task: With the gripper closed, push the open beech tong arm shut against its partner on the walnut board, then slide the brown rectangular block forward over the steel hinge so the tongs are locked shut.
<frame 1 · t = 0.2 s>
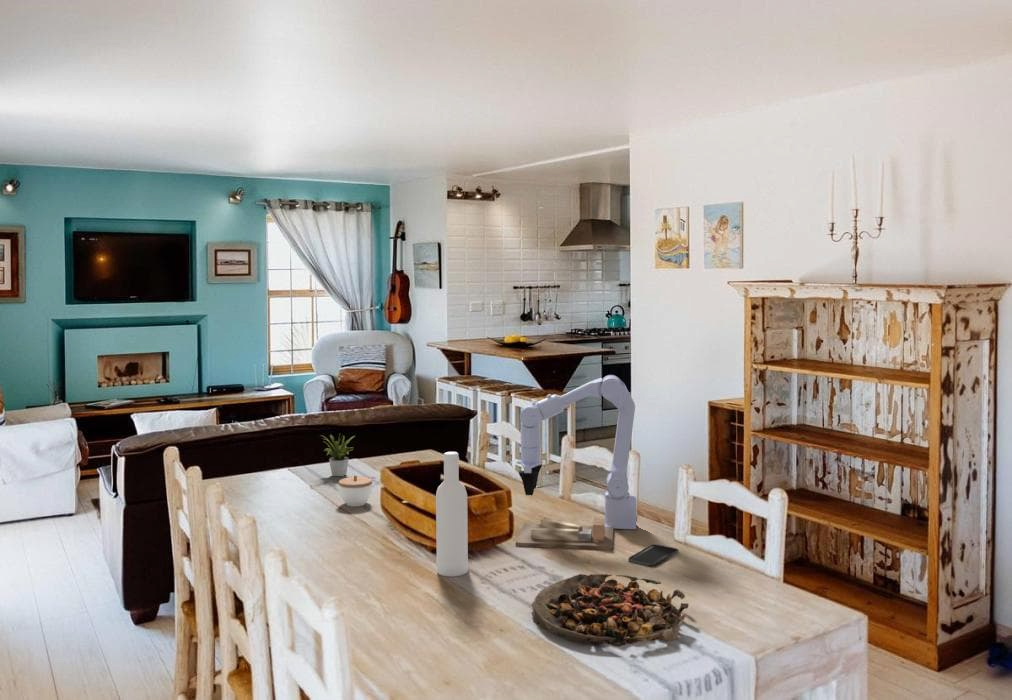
hand: (530, 491, 255), 10 cm above the table, fingers open, 7 cm apart
bottle: (452, 572, 214), on the table
tongs base: (565, 537, 241), on the table
lidded jar: (355, 504, 278), on the table
brown rectangular block: (598, 529, 237), point 4 cm above the table, slide at 0.0 cm
tong arm: (561, 526, 244), point 2 cm above the table, hinge at 30.0°
food dish: (607, 618, 186), on the table
house plant: (335, 476, 317), on the table
phone: (653, 558, 225), on the table
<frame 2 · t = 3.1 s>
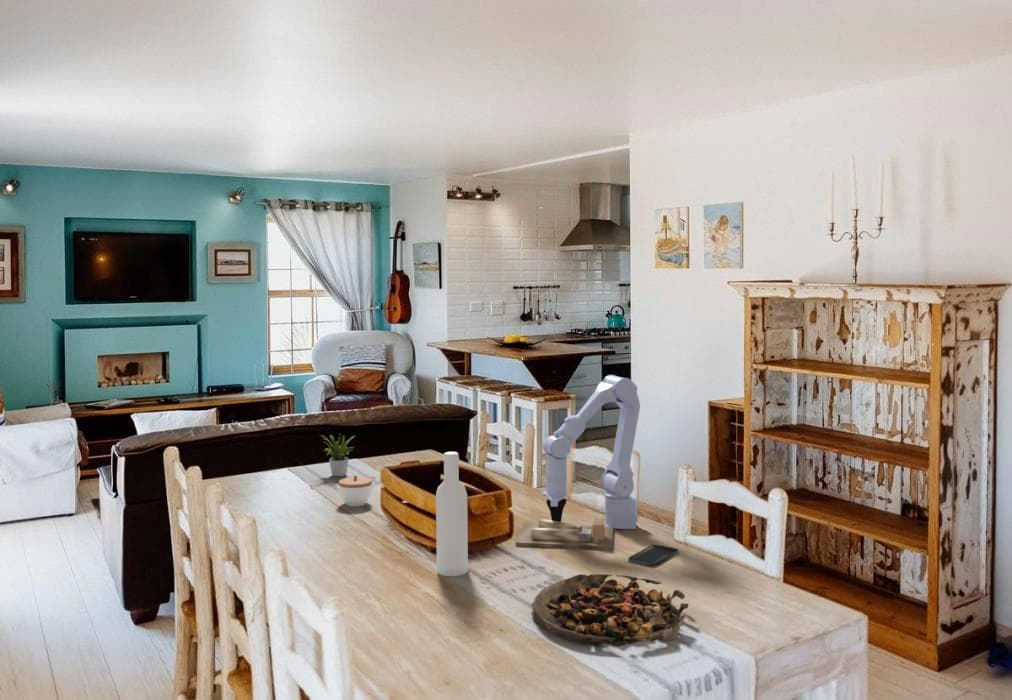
hand: (556, 524, 246), 2 cm above the table, fingers closed, pressing on tong arm
tong arm: (560, 527, 243), point 2 cm above the table, hinge at 26.4°, touching gripper
everything else where it was.
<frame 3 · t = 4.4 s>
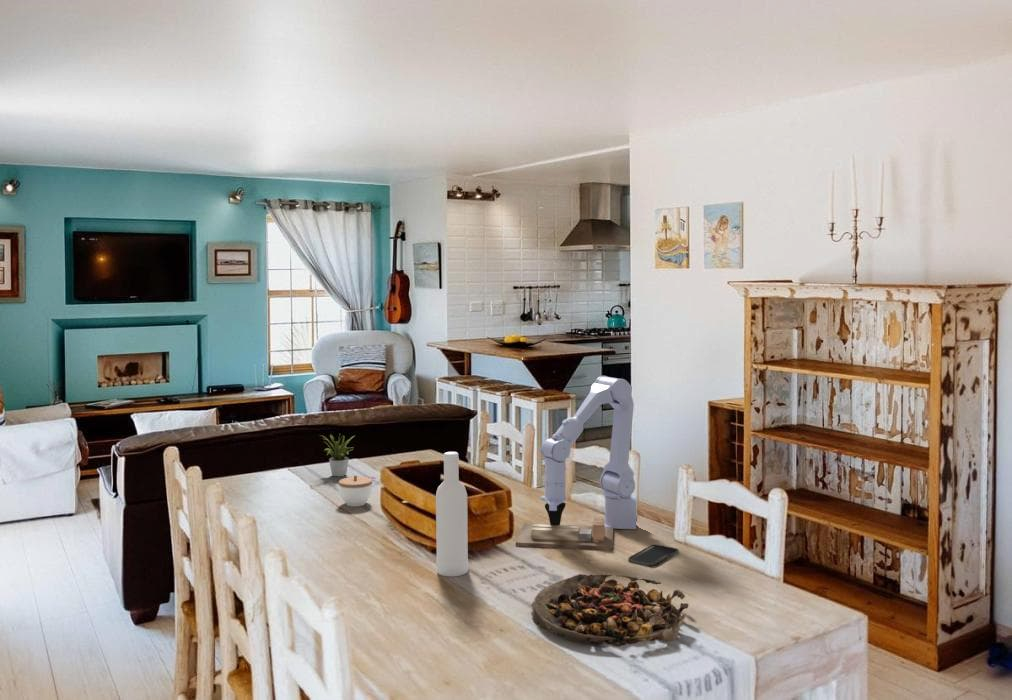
hand: (555, 529, 242), 2 cm above the table, fingers closed
tong arm: (556, 530, 240), point 2 cm above the table, hinge at 4.2°, touching gripper
everything else where it was.
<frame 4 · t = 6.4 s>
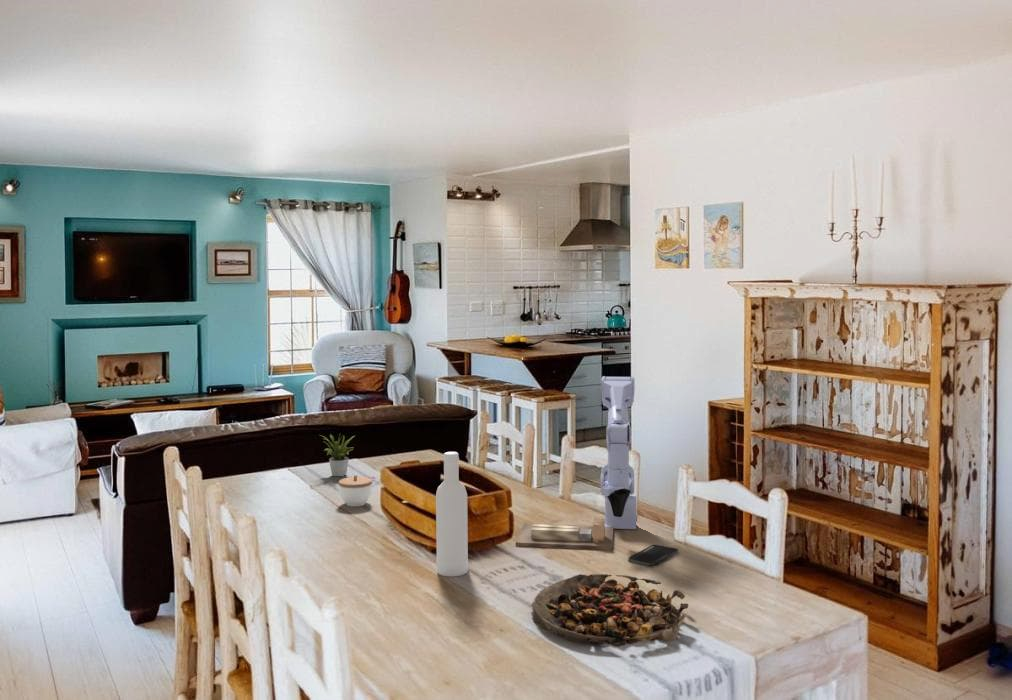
hand: (617, 516, 236), 7 cm above the table, fingers closed
tong arm: (556, 530, 240), point 2 cm above the table, hinge at 4.0°
everything else where it was.
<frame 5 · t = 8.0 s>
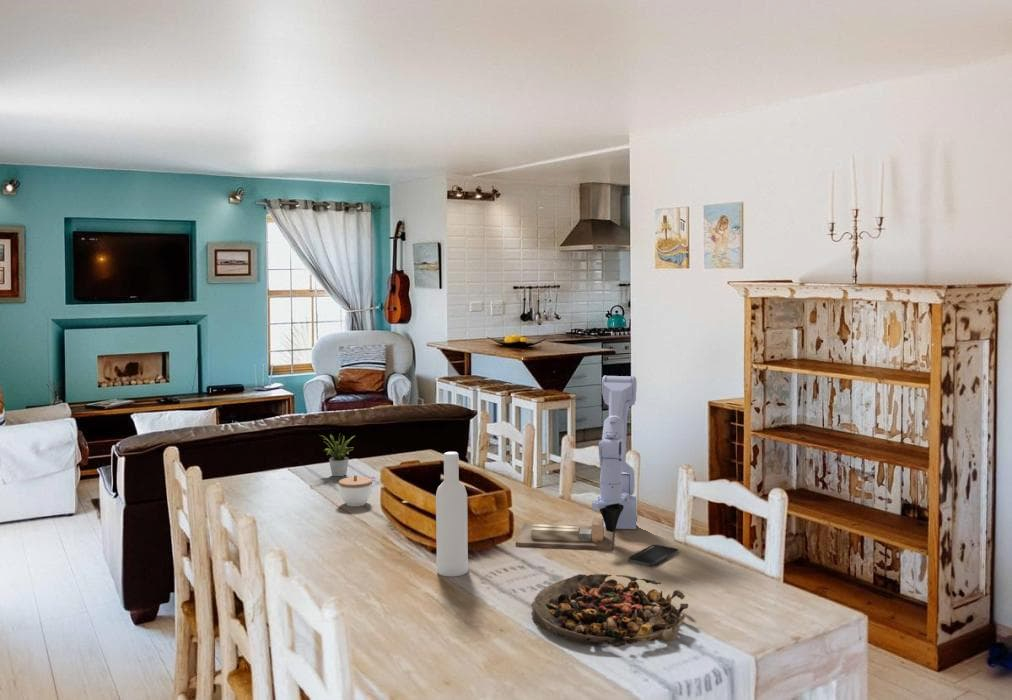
hand: (610, 530, 236), 3 cm above the table, fingers closed
brown rectangular block: (597, 529, 237), point 4 cm above the table, slide at 0.3 cm, touching gripper
everything else where it was.
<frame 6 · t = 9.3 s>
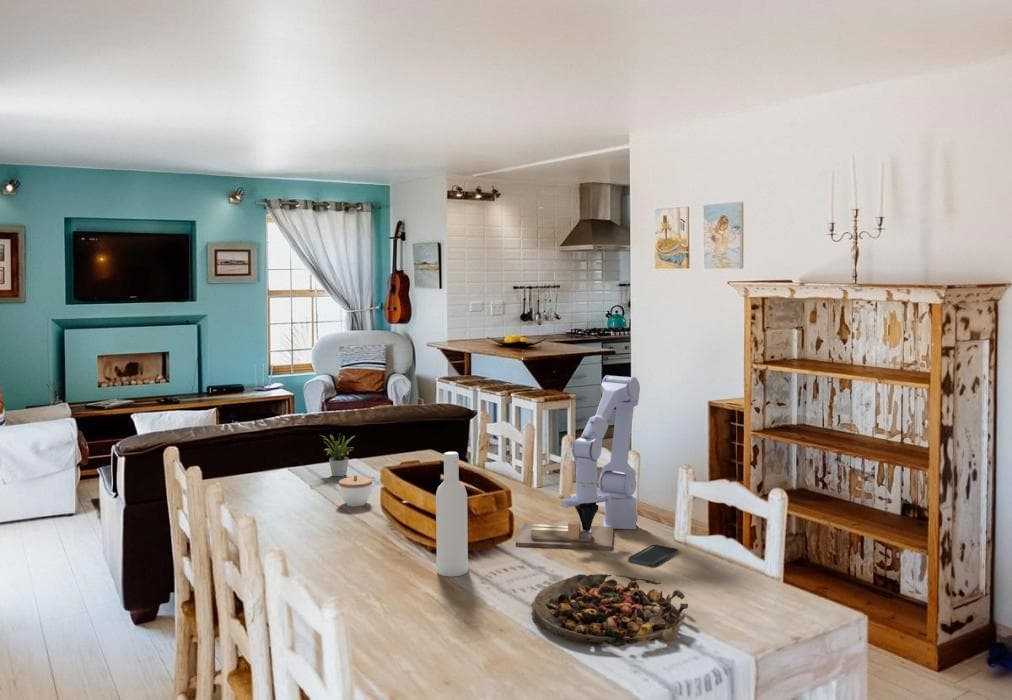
hand: (586, 530, 237), 3 cm above the table, fingers closed
brown rectangular block: (574, 528, 238), point 4 cm above the table, slide at 6.8 cm, touching gripper
everything else where it was.
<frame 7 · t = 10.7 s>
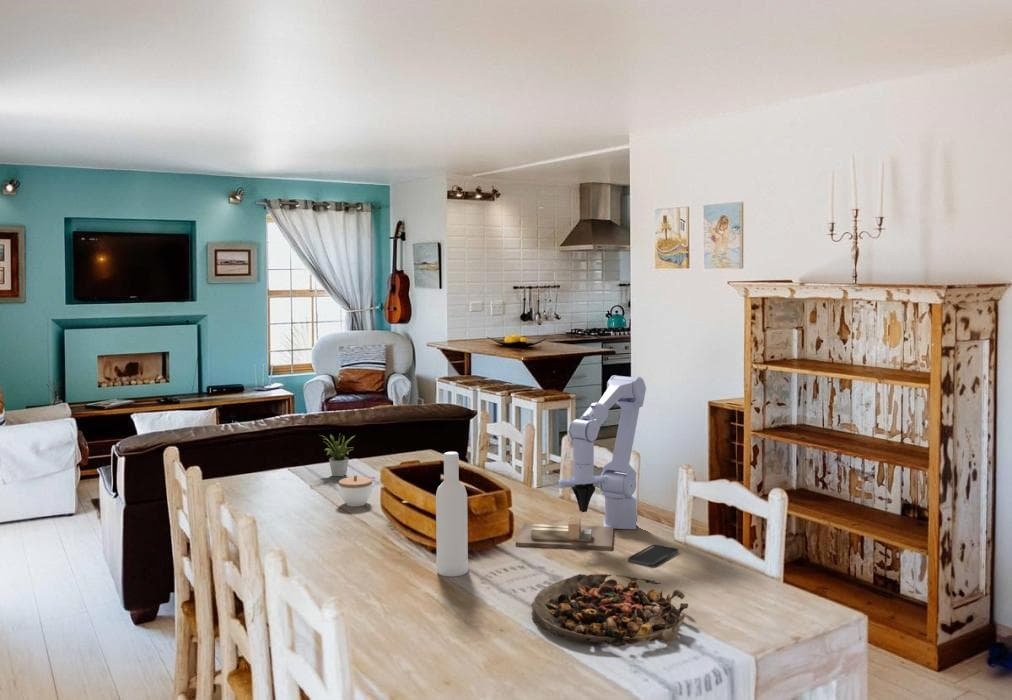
hand: (583, 511, 238), 8 cm above the table, fingers closed
brown rectangular block: (574, 528, 238), point 4 cm above the table, slide at 6.7 cm
everything else where it was.
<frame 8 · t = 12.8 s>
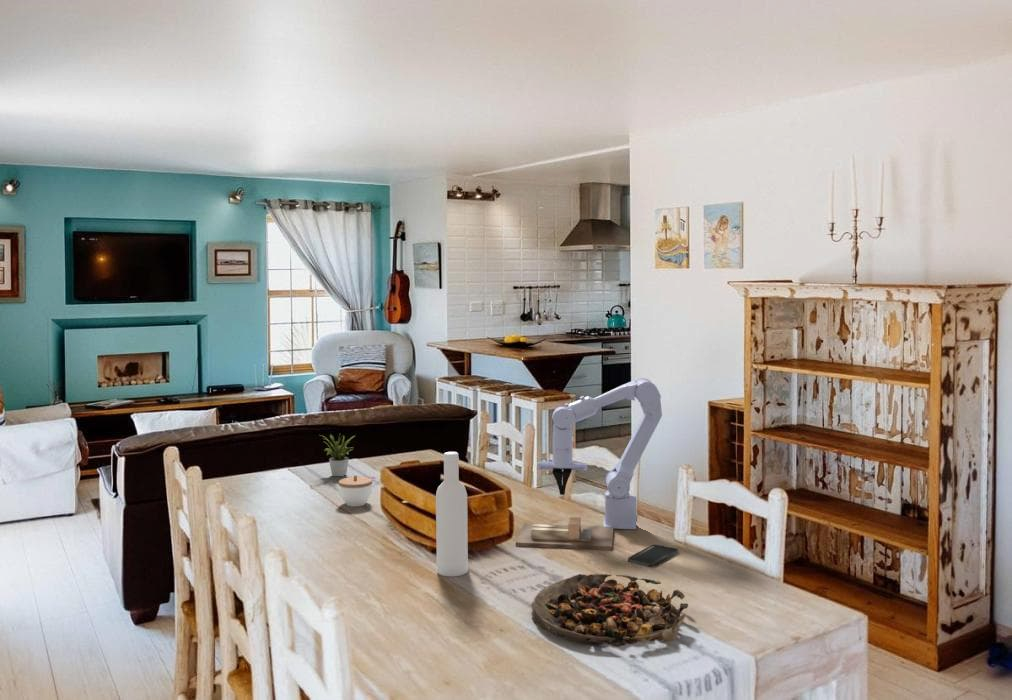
hand: (562, 494, 252), 9 cm above the table, fingers closed
nothing on the table moved.
at the end: tong arm at +4° (first picture: +30°); brown rectangular block slide at 6.7 cm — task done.
